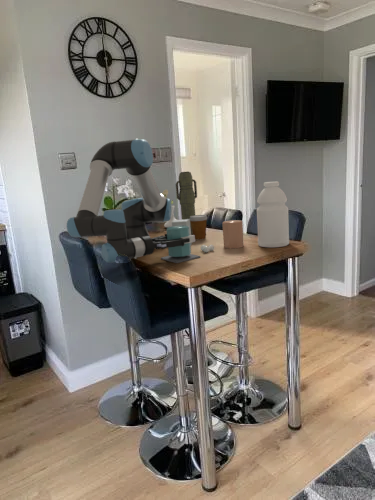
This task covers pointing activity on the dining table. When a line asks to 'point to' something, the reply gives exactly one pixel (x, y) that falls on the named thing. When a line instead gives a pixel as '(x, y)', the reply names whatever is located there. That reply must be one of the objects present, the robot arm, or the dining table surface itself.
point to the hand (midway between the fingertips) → (187, 237)
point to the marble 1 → (206, 249)
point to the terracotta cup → (233, 234)
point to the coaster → (180, 258)
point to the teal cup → (177, 233)
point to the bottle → (272, 217)
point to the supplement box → (182, 224)
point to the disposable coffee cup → (198, 226)
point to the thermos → (186, 195)
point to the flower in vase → (169, 223)
